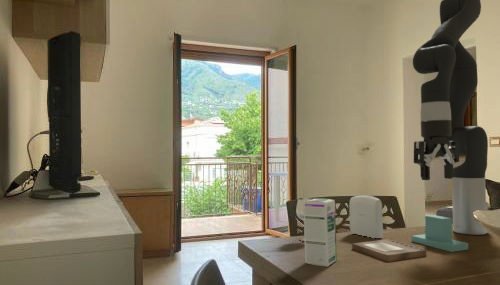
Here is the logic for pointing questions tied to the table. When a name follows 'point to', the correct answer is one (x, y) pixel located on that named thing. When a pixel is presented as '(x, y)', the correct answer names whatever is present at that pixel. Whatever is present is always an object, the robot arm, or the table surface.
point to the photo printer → (366, 216)
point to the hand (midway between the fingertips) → (437, 179)
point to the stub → (439, 234)
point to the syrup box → (320, 232)
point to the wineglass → (301, 207)
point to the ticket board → (389, 250)
